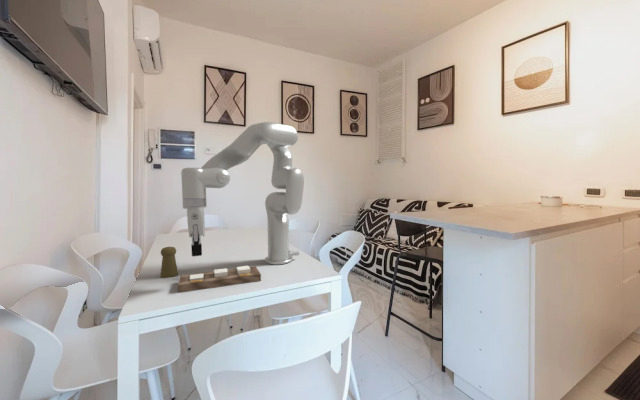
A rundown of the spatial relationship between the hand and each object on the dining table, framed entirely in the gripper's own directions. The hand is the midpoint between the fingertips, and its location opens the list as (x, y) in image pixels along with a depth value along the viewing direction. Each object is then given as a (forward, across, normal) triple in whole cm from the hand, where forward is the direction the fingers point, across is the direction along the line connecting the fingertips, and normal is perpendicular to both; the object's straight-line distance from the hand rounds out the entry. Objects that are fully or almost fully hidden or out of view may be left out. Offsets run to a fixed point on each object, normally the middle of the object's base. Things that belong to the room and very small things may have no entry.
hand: (196, 255), depth 95 cm
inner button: (+9, 0, -16) cm, 18 cm away
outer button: (+10, 0, 0) cm, 10 cm away
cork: (+11, +15, +10) cm, 21 cm away
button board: (+11, 0, -8) cm, 13 cm away
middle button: (+9, 0, -8) cm, 12 cm away
